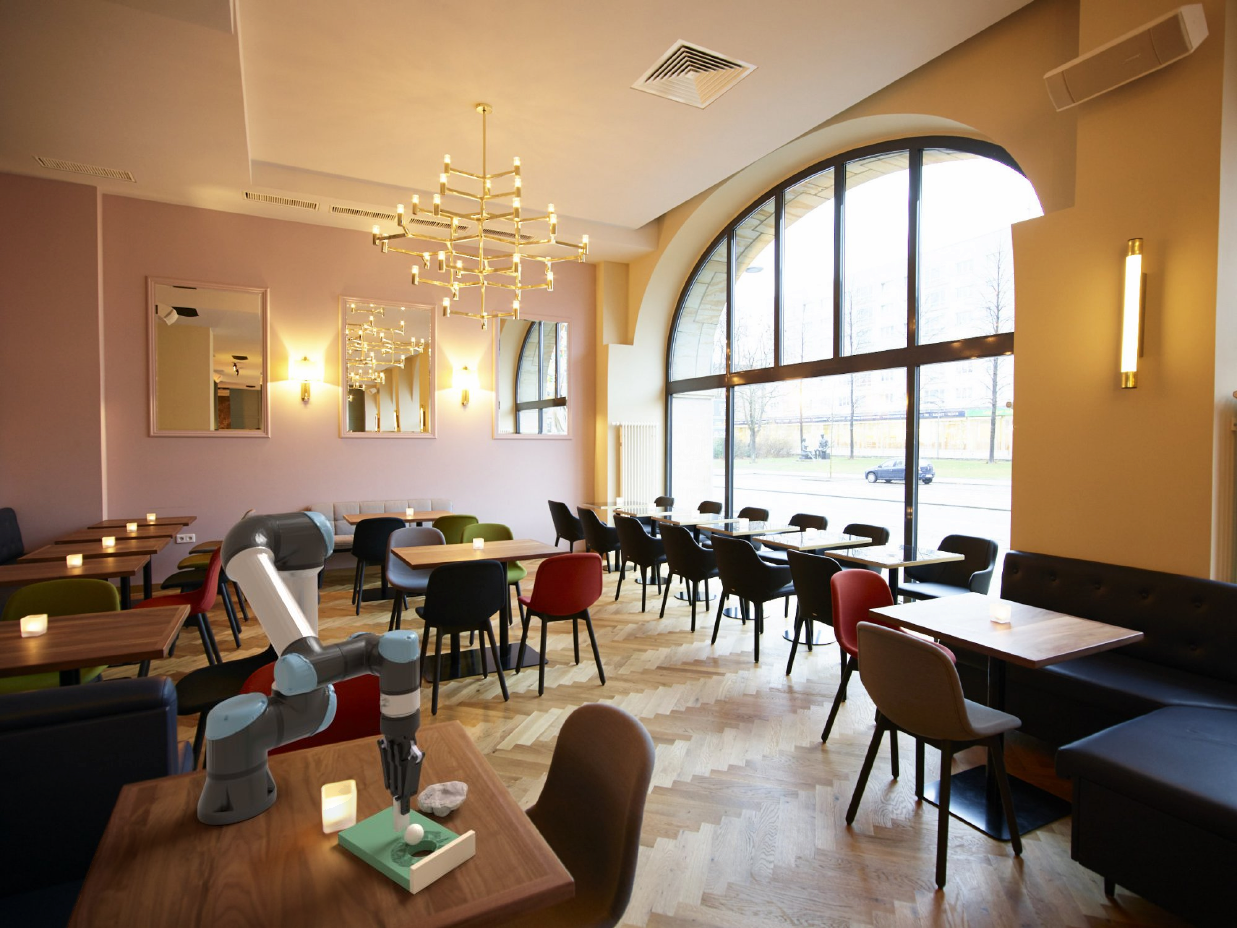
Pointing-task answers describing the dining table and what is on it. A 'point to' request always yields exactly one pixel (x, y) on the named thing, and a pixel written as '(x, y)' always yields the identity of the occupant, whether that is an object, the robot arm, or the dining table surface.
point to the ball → (413, 834)
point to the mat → (407, 849)
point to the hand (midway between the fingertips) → (401, 827)
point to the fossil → (442, 797)
